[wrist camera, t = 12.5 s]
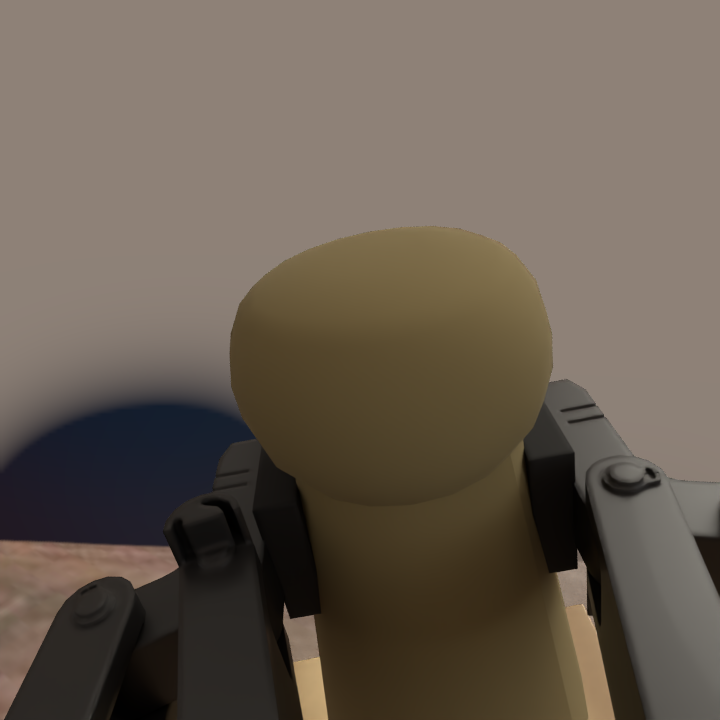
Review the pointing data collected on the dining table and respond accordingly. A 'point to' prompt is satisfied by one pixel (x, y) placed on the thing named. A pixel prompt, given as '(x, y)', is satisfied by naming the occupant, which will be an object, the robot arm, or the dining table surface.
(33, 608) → the dining table surface
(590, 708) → the riser block
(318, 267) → the olive green peg figure
